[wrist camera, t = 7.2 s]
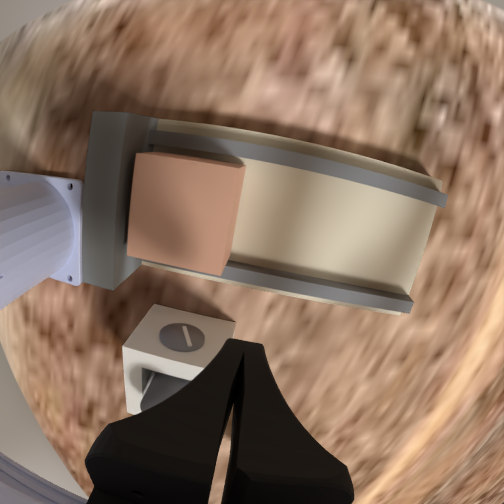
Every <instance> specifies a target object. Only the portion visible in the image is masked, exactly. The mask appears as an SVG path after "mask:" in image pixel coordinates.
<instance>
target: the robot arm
mask: <svg viewBox="0 0 504 504" xmlns="http://www.w3.org/2000/svg"><path fill="white" fill-rule="evenodd" d="M71 183H72V185H73V189H71V186H70V185H71ZM83 193H84V184H83V182H82V181H81V180H78V179H71V178H63V177H55V176H48V175H40V174H31V173H23V172H14V171H5V170H4V171H0V310H1V309H3V308H4V307H6V306H7V305H8V304H10V303H11V302H13V301H14V300H15V299H17V298H18V297H20V296H21V295H23V294H24V293H25V292H27V291H28V290H30V289H31V288H33V287H34V286H36V285H37V284H39V283H40V282H42V281H43V280H45V279H46V278H48V277H50V278H53V279H56V280H59V281H62V282H65V283H68V284H72V285H75V286H78V285H80V284H81V283H82V212H83ZM70 276H71V277H72V279H73V280H72V279H71V278H70ZM233 403H234V405H233ZM232 406H233V419H232V434H231V449H230V457H229V463H228V469H227V474H226V480H225V485H224V491H223V496H222V501H221V504H352V502H353V501H354V489H353V484H352V481H351V477H350V474H349V471H348V468H347V466H346V465H344V464H343V463H342V462H341V461H339V460H338V459H337V458H335V457H334V456H333V455H331V454H330V453H329V452H328V451H327V450H325V449H324V448H323V447H322V446H321V445H320V444H319V443H318V442H317V441H316V440H315V439H314V438H313V437H312V436H311V435H310V434H309V432H308V431H307V430H306V429H305V428H304V427H303V426H302V424H301V423H300V422H299V420H298V419H297V418H296V416H295V415H294V413H293V412H292V411H291V409H290V408H289V406H288V404H287V403H286V401H285V399H284V398H283V396H282V394H281V392H280V390H279V388H278V386H277V384H276V382H275V379H274V377H273V375H272V372H271V370H270V367H269V364H268V361H267V358H266V354H265V350H264V346H263V345H262V344H260V343H254V342H249V341H243V340H238V339H233V338H229V339H227V340H226V341H225V343H224V345H223V347H222V348H221V349H220V351H219V352H218V353H217V355H216V356H215V357H214V358H213V359H212V361H211V362H210V363H209V364H208V365H207V366H206V367H205V368H204V369H203V370H202V371H201V372H200V373H199V374H198V375H197V376H196V377H195V378H194V379H193V380H191V381H190V382H189V383H188V384H187V385H185V386H184V387H183V388H182V389H180V390H179V391H177V392H176V393H175V394H173V395H171V396H170V397H168V398H167V399H165V400H164V401H162V402H160V403H159V404H157V405H155V406H153V407H151V408H149V409H147V410H144V411H142V412H140V413H138V414H136V415H133V416H131V417H128V418H125V419H122V420H119V421H116V422H113V423H109V424H108V425H107V426H106V427H105V429H104V430H103V431H102V432H101V434H100V435H99V436H98V437H97V439H96V440H95V442H94V443H93V445H92V447H91V449H90V451H89V453H88V454H87V456H86V459H85V466H86V468H87V471H88V473H89V475H90V478H91V480H92V482H93V484H94V488H93V491H92V493H91V495H90V497H89V499H88V500H87V499H84V498H82V497H80V496H78V495H76V494H73V493H71V492H69V491H67V490H65V489H63V488H61V487H59V486H57V485H55V484H53V483H51V482H49V481H47V480H45V479H44V478H42V477H40V476H38V475H36V474H35V473H33V472H31V471H30V470H28V469H26V468H24V467H23V466H21V465H20V464H18V463H16V462H14V461H13V460H12V459H10V458H8V457H7V456H5V455H4V454H2V453H1V452H0V504H208V500H209V495H210V490H211V485H212V480H213V476H214V471H215V466H216V461H217V456H218V452H219V448H220V445H221V441H222V438H223V435H224V432H225V429H226V425H227V422H228V419H229V416H230V413H231V409H232Z"/></svg>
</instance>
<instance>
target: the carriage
mask: <svg viewBox="0 0 504 504" xmlns="http://www.w3.org/2000/svg"><path fill="white" fill-rule="evenodd" d="M245 170H246V165H243V164H237V163H232V162H226V161H220V160H214V159H208V158H201V157H195V156H188V155H181V154H174V153H166V152H145V153H136V158H135V166H134V174H133V183H132V192H131V202H130V214H129V227H128V243H127V255H128V256H132V257H136V258H141V259H145V260H149V261H154V262H158V263H163V264H167V265H172V266H176V267H181V268H185V269H190V270H194V271H199V272H204V273H208V274H213V275H218V276H221V274H222V272H223V270H224V268H225V265H226V263H227V261H228V259H229V257H230V254H231V248H232V242H233V236H234V231H235V225H236V219H237V214H238V208H239V203H240V197H241V192H242V186H243V181H244V175H245Z"/></svg>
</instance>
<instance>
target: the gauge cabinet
mask: <svg viewBox="0 0 504 504" xmlns="http://www.w3.org/2000/svg"><path fill="white" fill-rule="evenodd" d="M235 326H236V322H231V321H226V320H221V319H217V318H212V317H208V316H203V315H199V314H195V313H190V312H186V311H182V310H178V309H174V308H169V307H165V306H161V305H157V304H153V306H152V307H151V308H150V310H149V311H148V312H147V314H146V315H145V316H144V318H143V319H142V320H141V322H140V323H139V324H138V326H137V327H136V328H135V330H134V331H133V332H132V334H131V335H130V336H129V338H128V339H127V340H126V342H125V343H124V345H123V365H124V380H125V392H126V403H127V412H128V413H131V414H134V415H136V414H138V413H140V412H142V411H141V408H140V402H141V400H142V398H143V396H144V394H145V392H146V390H147V389H148V387H149V385H150V383H151V381H152V379H153V377H154V375H155V373H156V372H160V373H163V374H167V375H171V376H175V377H178V378H182V379H186V380H190V381H191V380H193V379H194V378H195V377H196V376H197V375H198V374H199V373H200V372H201V371H202V370H203V369H204V368H205V367H206V366H207V365H208V364H209V363H210V362H211V361H212V359H213V358H214V357H215V356H216V355H217V353H218V352H219V351H220V349H221V348H222V347H223V345H224V343H225V341H226V340H227V339H229V338H233V337H234V332H235Z"/></svg>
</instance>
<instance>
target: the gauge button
mask: <svg viewBox="0 0 504 504" xmlns="http://www.w3.org/2000/svg"><path fill="white" fill-rule="evenodd" d="M189 382H190V380H186V379H182V378H178V377H175V376H171V375H167V374H163V373H160V372H156V373H155V375H154V377H153V379H152V381H151V383H150V385H149V387H148V389H147V390H146V392H145V394H144V396H143V398H142V400H141V402H140V408H141V411H144V410H147V409H149V408H151V407H153V406H155V405H157V404H159V403H160V402H162V401H164V400H165V399H167V398H168V397H170V396H171V395H173V394H175V393H176V392H177V391H179V390H180V389H182V388H183V387H184V386H185V385H187V384H188V383H189Z"/></svg>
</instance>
